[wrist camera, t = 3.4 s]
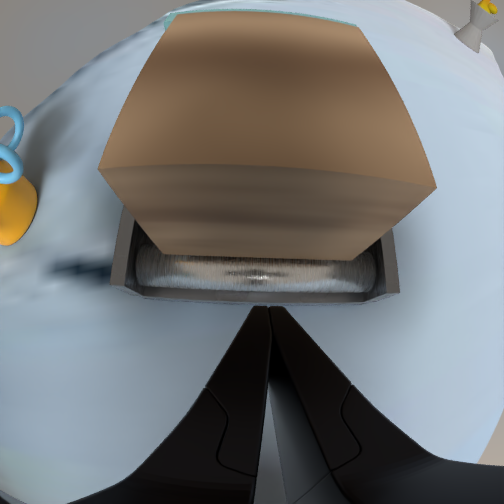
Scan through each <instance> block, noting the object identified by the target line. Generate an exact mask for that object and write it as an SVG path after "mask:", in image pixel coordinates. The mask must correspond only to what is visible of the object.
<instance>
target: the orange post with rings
mask: <svg viewBox="0 0 504 504" xmlns="http://www.w3.org/2000/svg"><path fill="white" fill-rule="evenodd" d="M2 116H9V117H11V118H12V119H13V120H14V122H15V134H14V137H13V139H12V141H11V142H10V144H9V145H8V146H5V145H3V144H0V244H1V245H4V246H9V245H12V244H14V243H15V242H17V241H18V240H19V239H20V238H21V237H22V236H23V235H24V233H25V232H26V230H27V229H28V227H29V225H30V224H31V222H32V219H33V217H34V214H35V211H36V206H37V192H36V190H35V187H34V186H33V185H32V184H31V183H30V182H29V181H28V180H27V179H26V178H25V177H24V176H23V175H22V174H23V163H22V160H21V159H20V157H19V156H18V154H17V153H16V152H15V151H14V150H15V149H16V148H17V146H18V145H19V143H20V141H21V138H22V135H23V131H24V121H23V117H22V114H21V113H20V111H19V110H18V109H17V108H15V107H12V106H3V107H0V117H2ZM3 159H4V160H3Z"/></svg>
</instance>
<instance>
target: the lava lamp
mask: <svg viewBox="0 0 504 504" xmlns="http://www.w3.org/2000/svg"><path fill="white" fill-rule="evenodd" d="M489 2H490V0H482V1H481V2H480V3H479V4H476V3H475V2H473V1H472V0H471V10H470V22H469V23H468V24H467V25H465V26H464V27H463V28H462V29H460V30H459V31H458V32H456V33H455V34H454V35H455V36H456V37H457V38H458V39H459V40H460V41H461V42H463V43H464V44H465V45H466V46H468V47H469V48H470V49H472V50H473V51H475V52H477V53H479V49H480V43H481V36H482V31H484V30H485V29H487V28H488V27H490V26H491V25H493V24H494V23H496V22H498V20H497V19H496V18H495V17H493V16H492V15H491V13H492V14H496V13H497V8H496V6H495V5H494V4H492V3H489Z"/></svg>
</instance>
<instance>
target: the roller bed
mask: <svg viewBox="0 0 504 504" xmlns="http://www.w3.org/2000/svg"><path fill="white" fill-rule="evenodd" d="M110 285H111V286H113V287H115V288H117V289H119V290H121V291H123V292H126V293H128V294H130V295H136V296H140V297H142V298H145V299H157V300H170V301H185V302H203V303H223V304H252V305H360V304H364V303H367V302H376V301H379V300H382V299H385V298H388V297H390V296H393V295H396V294H399V293H400V288H399V277H398V268H397V260H396V252H395V245H394V238H393V232H392V228H391V229H390V230H389V231H387V232H386V233H385V234H384V235H383V236H381V237H380V238H379V239H378V240H377V241H375V242H374V243H373V244H372V245H370V246H369V247H368V248H367V249H365V250H364V251H363V252H362V253H360V254H359V255H358V256H357V257H355V258H354V259H353V260H352V261H347V260H313V259H282V258H252V257H223V256H196V255H169V254H163V253H162V252H161V251H160V250H159V248H158V247H157V246H156V245H155V244H154V242H153V241H152V240H151V239H150V237H149V236H148V235H147V234H146V232H145V231H144V230H143V229H142V227H141V226H140V225H139V224H138V222H137V221H136V220H135V219H134V217H133V216H132V215H131V213H130V212H129V211H128V210H127V208H126V207H125V206H124V207H123V211H122V216H121V220H120V225H119V230H118V235H117V240H116V246H115V252H114V258H113V264H112V271H111V278H110Z"/></svg>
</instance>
